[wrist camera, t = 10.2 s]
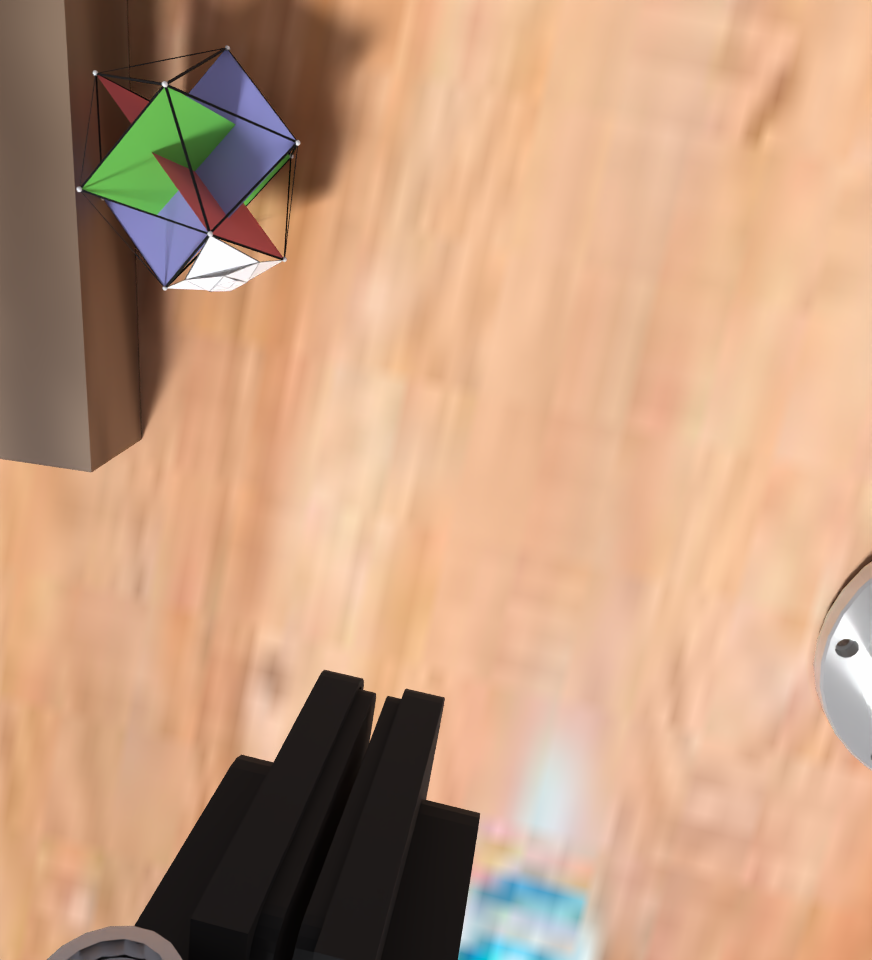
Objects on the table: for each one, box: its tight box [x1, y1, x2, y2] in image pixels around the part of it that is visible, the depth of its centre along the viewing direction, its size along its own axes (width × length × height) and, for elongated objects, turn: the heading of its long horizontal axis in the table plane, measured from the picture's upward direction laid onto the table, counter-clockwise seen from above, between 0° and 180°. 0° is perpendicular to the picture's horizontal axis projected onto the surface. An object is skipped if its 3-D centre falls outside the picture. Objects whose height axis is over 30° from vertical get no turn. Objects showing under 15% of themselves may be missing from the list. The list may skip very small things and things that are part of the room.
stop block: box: [0, 0, 141, 472], centre depth 28 cm, size 4×20×4 cm, turn 174°
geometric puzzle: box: [77, 46, 300, 292], centre depth 26 cm, size 7×7×8 cm
